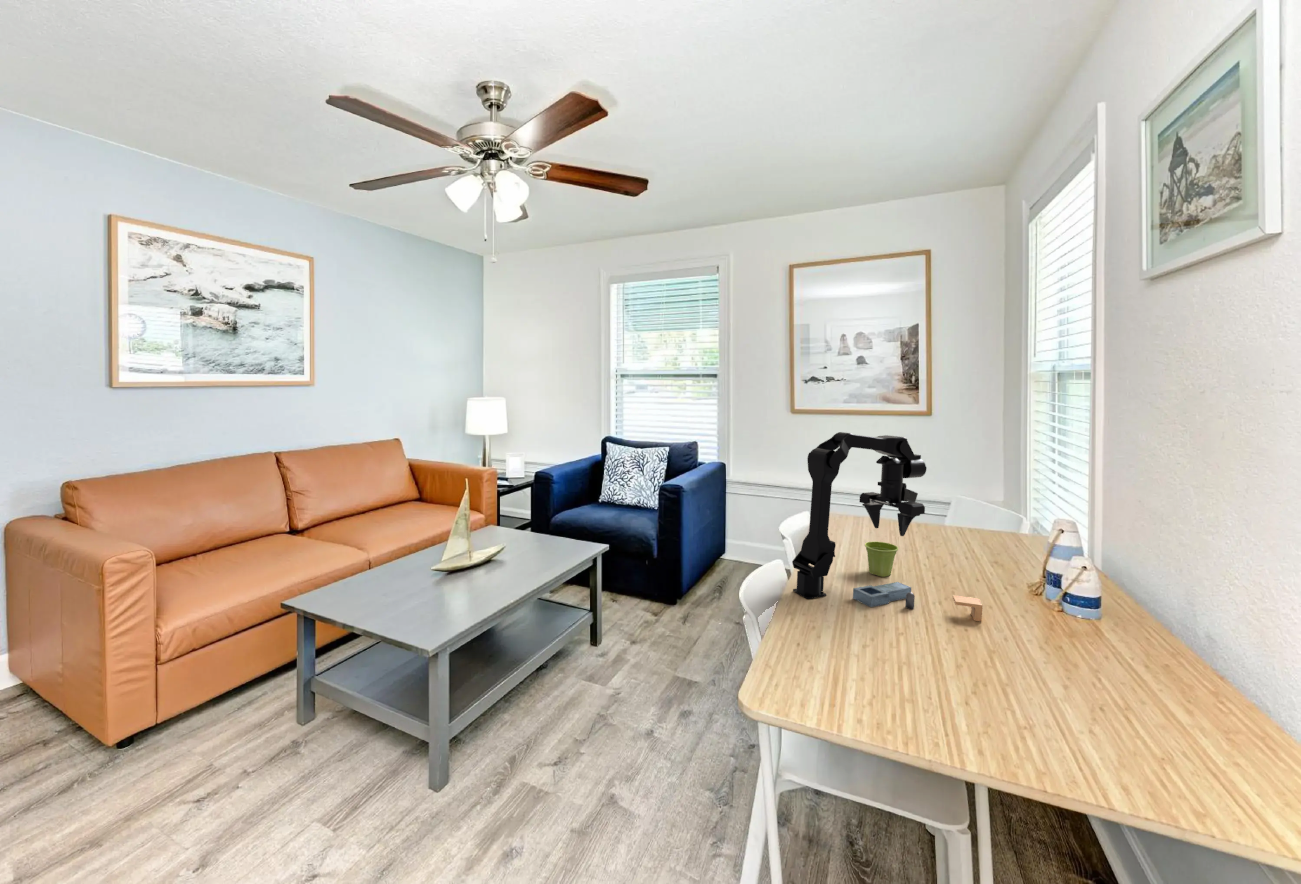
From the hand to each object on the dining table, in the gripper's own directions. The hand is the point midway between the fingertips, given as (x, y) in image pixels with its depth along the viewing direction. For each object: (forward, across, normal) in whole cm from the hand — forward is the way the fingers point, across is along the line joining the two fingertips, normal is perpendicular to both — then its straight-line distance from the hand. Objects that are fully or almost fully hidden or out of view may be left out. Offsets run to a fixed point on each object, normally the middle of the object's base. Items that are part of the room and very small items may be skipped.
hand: (889, 532), depth 152 cm
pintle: (+15, -17, +10) cm, 24 cm away
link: (+15, -10, +12) cm, 21 cm away
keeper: (+15, -25, +2) cm, 29 cm away
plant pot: (+15, +5, -3) cm, 16 cm away
